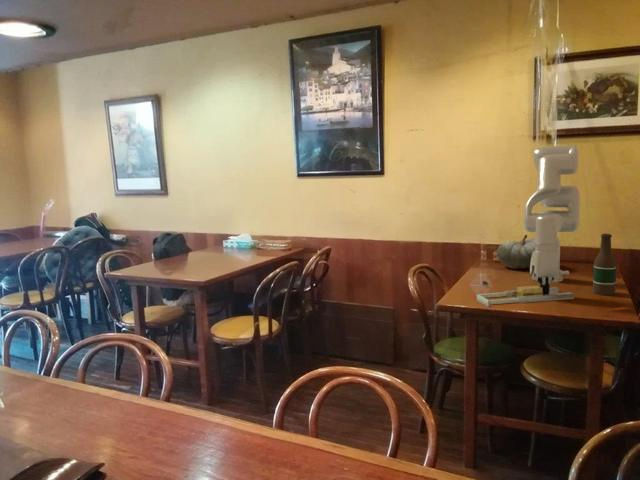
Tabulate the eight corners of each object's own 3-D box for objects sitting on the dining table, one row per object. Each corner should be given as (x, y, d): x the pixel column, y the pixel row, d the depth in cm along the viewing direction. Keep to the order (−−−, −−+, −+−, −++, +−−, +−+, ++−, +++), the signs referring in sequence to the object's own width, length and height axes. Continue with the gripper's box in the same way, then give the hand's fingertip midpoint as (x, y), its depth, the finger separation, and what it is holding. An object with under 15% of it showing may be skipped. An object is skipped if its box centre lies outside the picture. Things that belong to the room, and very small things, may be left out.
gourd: (561, 266, 237) (555, 231, 236) (512, 276, 236) (505, 241, 236) (538, 262, 262) (531, 230, 261) (493, 271, 261) (486, 240, 261)
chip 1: (526, 296, 190) (526, 286, 190) (532, 298, 186) (532, 288, 186) (517, 296, 190) (517, 286, 189) (522, 299, 186) (523, 289, 185)
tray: (504, 298, 192) (504, 292, 192) (518, 304, 182) (518, 298, 182) (476, 300, 190) (476, 294, 190) (488, 307, 181) (488, 300, 180)
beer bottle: (614, 296, 189) (617, 235, 185) (592, 294, 193) (594, 234, 190) (615, 292, 195) (618, 233, 192) (593, 290, 199) (595, 232, 196)
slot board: (554, 293, 196) (554, 286, 196) (574, 300, 185) (574, 293, 184) (504, 297, 193) (504, 290, 193) (520, 305, 181) (520, 298, 181)
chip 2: (536, 295, 191) (536, 285, 190) (542, 297, 187) (542, 287, 186) (526, 296, 190) (527, 286, 189) (532, 298, 186) (533, 288, 185)
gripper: (557, 245, 191) (555, 290, 194) (522, 247, 189) (521, 293, 191) (569, 247, 184) (568, 294, 186) (533, 250, 182) (532, 297, 184)
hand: (544, 293), depth 189 cm, fingers closed
